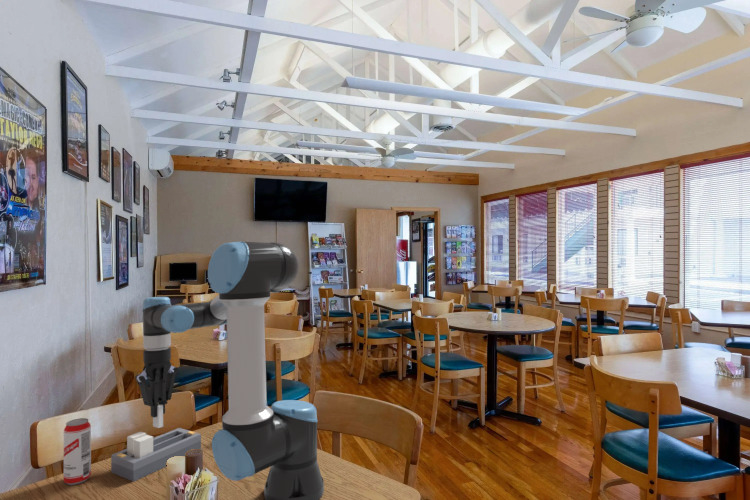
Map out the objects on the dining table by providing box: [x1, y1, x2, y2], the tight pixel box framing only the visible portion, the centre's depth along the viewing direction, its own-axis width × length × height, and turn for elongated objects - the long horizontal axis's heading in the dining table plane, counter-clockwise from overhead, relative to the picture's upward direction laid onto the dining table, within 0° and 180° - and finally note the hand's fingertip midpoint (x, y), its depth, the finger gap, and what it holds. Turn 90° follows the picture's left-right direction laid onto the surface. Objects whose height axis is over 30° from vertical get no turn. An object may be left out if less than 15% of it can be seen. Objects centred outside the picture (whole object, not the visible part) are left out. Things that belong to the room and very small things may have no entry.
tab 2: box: [134, 434, 154, 459], centre depth 126 cm, size 3×4×6 cm
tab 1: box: [126, 431, 147, 456], centre depth 129 cm, size 3×4×6 cm
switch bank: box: [110, 427, 202, 482], centre depth 133 cm, size 10×22×5 cm, turn 151°
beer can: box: [63, 417, 92, 486], centre depth 121 cm, size 6×6×16 cm
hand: (158, 426), depth 134 cm, fingers closed
